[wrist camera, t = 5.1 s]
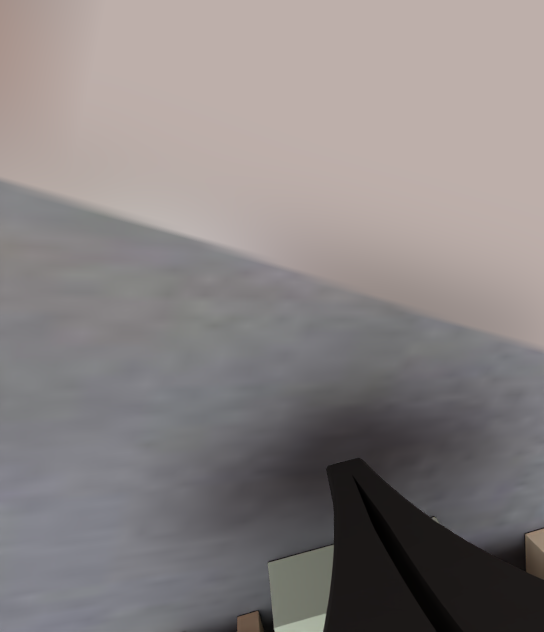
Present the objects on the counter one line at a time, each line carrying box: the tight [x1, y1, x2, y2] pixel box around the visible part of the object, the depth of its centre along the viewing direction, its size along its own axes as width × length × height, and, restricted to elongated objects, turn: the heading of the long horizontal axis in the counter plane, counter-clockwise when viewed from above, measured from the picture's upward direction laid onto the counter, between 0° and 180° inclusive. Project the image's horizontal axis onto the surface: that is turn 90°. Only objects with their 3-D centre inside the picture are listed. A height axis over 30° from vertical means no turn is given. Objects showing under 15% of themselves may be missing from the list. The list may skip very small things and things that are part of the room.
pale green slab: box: [268, 517, 440, 632], centre depth 14 cm, size 7×8×2 cm
